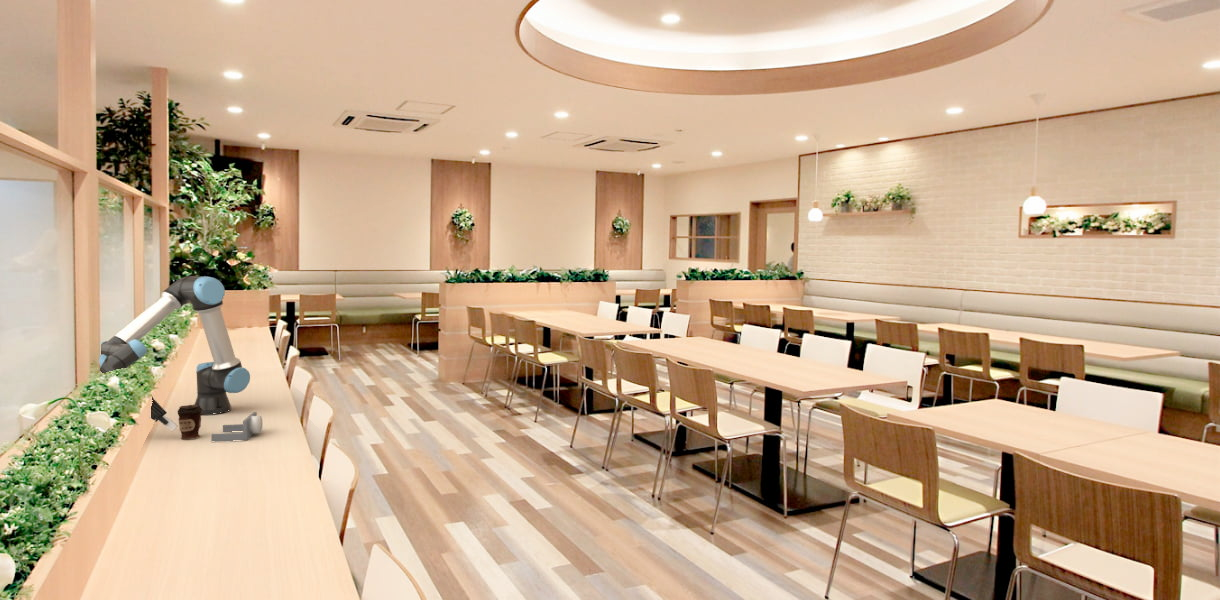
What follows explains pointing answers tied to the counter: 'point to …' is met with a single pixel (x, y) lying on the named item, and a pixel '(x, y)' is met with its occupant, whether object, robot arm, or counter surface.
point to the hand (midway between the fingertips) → (175, 428)
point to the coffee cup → (189, 421)
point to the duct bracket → (241, 429)
